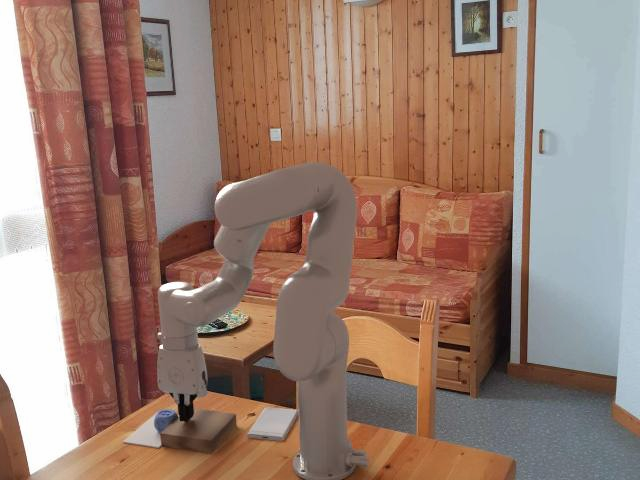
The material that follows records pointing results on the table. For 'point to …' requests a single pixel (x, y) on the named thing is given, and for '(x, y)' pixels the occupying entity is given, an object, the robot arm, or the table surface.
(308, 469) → the robot arm
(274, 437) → the hard drive
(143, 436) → the mat
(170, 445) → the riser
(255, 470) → the table surface
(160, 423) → the decorative dice
